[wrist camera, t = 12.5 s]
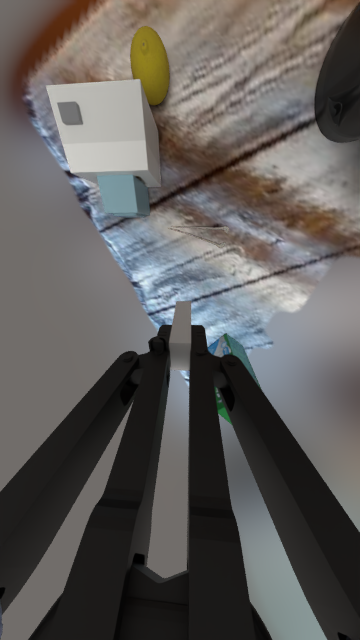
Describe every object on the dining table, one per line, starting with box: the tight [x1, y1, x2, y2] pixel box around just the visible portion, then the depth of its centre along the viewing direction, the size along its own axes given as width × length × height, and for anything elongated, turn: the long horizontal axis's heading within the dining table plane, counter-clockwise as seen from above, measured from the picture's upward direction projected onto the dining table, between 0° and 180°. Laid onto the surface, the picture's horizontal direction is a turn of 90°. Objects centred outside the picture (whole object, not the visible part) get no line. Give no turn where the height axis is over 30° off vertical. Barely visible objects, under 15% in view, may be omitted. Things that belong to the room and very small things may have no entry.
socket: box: [46, 79, 161, 187], centre depth 26 cm, size 12×8×13 cm, turn 91°
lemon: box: [130, 26, 170, 105], centre depth 23 cm, size 6×6×8 cm
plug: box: [97, 174, 150, 218], centre depth 30 cm, size 6×8×10 cm
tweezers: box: [169, 226, 229, 248], centre depth 37 cm, size 18×5×2 cm, turn 81°
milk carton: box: [208, 334, 261, 424], centre depth 45 cm, size 9×9×25 cm
